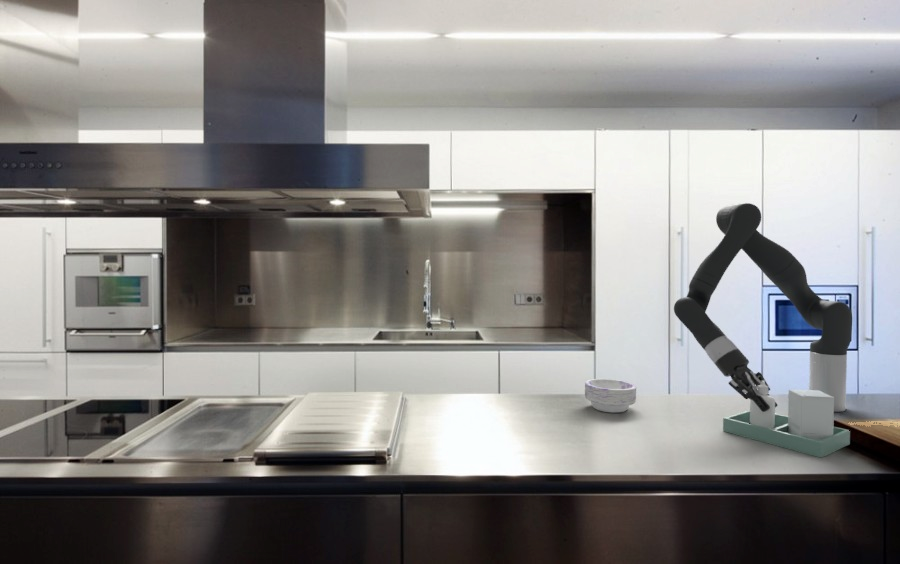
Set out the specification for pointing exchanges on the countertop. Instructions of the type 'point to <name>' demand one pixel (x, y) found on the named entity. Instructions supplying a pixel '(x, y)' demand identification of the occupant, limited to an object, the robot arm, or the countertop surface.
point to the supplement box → (810, 414)
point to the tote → (785, 435)
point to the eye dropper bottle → (757, 415)
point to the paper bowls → (610, 394)
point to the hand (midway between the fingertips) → (770, 408)
